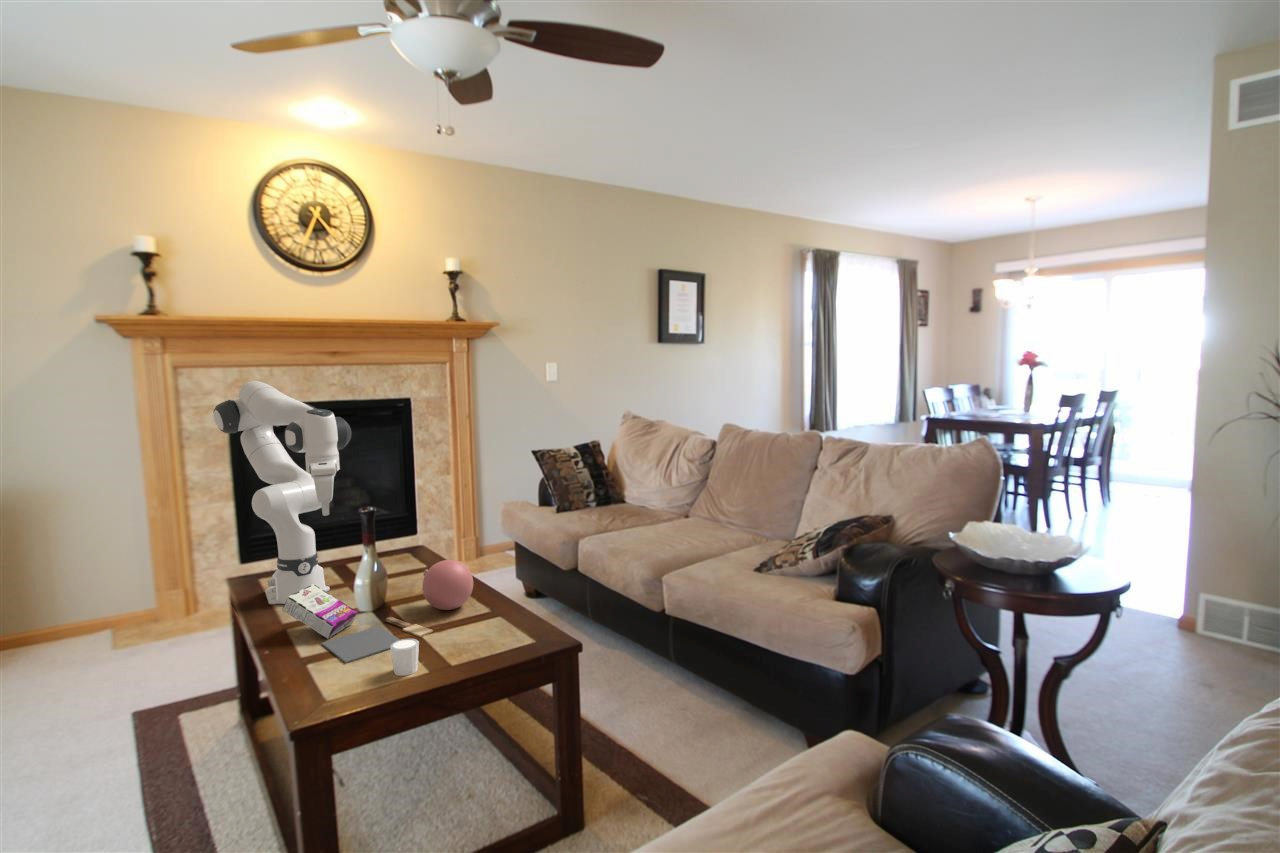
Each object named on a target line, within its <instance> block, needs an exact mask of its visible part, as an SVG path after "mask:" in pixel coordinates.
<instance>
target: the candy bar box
mask: <svg viewBox="0 0 1280 853" xmlns="http://www.w3.org/2000/svg"><path fill="white" fill-rule="evenodd" d="M281 611H283V612H285V613H286V614H288V615H290V616H292V617H293V618H295V619H296V620H298V621H299V622H301V623H302V624H303V625H306V626H307V627H309V629H311V630H313V631H314V632H316V633H318V634H319V635H321V636H322V637H324V638H325V639H327V640H329V639H330V638H332V637H333V636H335V635H337V634H339V633H341V632H342V630H346V629H347V628H348V627H349V626H351V625H353V622H354V621H355V619H356V617H357V614H358V611H357V610H355V609H354V608H352V607H351V606H349V605H348V604H346V603H344V602H342V600H339V599H338V598H336V597H334V596H333V595H332V594H330V593H329V592H328V591H327V592H325V591H324V590H322V589H321V588H319V587H318V586H316V585H314V584H312V585H310V586H308V587H306V588H304V589H302V590H300V591H298V592H296V593H294V594H292V595H290V596H288V598H287V600H286V602H285V604H283V607H282V609H281Z"/></svg>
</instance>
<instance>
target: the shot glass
mask: <svg viewBox="0 0 1280 853" xmlns="http://www.w3.org/2000/svg"><path fill="white" fill-rule="evenodd" d="M419 645H420V641H419V640H417V639H415V638H402V639H400V640H399V641H396V642H394V643H392V644H391V646H390V654H391V656H390V657H391V659H392V668H393V673H394V675H396V676H400V677H403V676H409V675H412V674H414V673H416V672H417V671H418V666H419Z"/></svg>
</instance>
